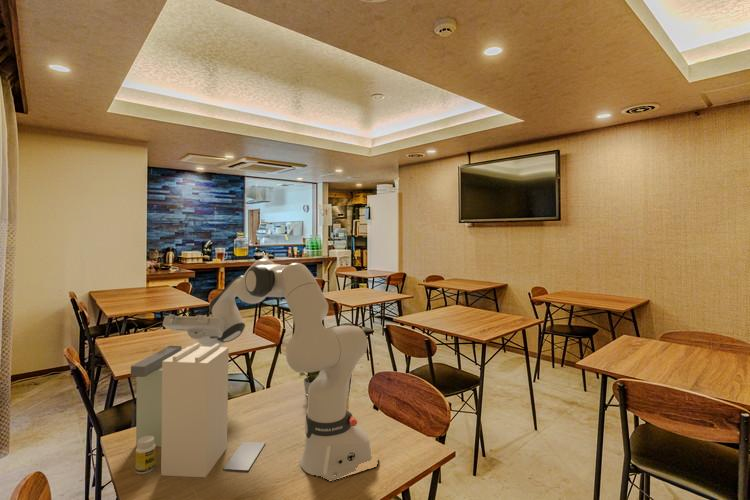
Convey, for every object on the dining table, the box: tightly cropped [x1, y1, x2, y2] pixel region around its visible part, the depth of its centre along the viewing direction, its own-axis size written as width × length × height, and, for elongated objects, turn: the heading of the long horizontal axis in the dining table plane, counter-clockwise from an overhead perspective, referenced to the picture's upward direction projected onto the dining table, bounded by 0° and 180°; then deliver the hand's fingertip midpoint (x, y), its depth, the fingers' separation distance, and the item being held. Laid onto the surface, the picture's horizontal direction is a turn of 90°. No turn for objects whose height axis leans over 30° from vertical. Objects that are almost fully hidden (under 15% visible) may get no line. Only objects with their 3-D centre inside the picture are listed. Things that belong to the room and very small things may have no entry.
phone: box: [222, 441, 266, 473], centre depth 112 cm, size 14×7×1 cm, turn 177°
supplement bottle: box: [134, 436, 157, 475], centre depth 104 cm, size 5×5×8 cm
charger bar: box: [130, 345, 183, 378], centre depth 119 cm, size 20×4×3 cm, turn 179°
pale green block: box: [135, 367, 162, 447], centre depth 120 cm, size 10×8×24 cm
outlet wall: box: [160, 342, 230, 478], centre depth 109 cm, size 14×12×32 cm
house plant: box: [298, 370, 321, 395], centre depth 155 cm, size 14×14×16 cm
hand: (184, 316), depth 131 cm, fingers open, 8 cm apart
